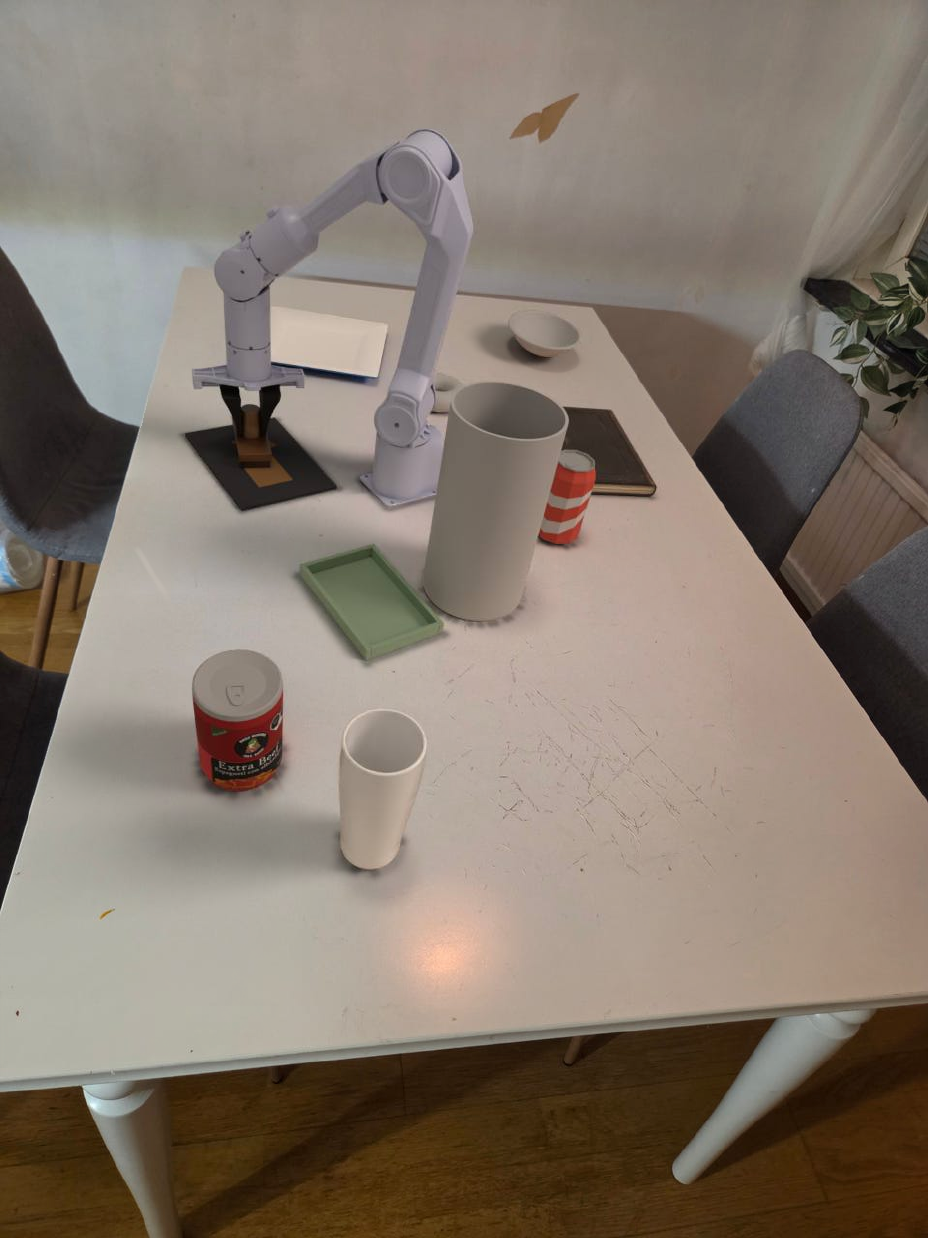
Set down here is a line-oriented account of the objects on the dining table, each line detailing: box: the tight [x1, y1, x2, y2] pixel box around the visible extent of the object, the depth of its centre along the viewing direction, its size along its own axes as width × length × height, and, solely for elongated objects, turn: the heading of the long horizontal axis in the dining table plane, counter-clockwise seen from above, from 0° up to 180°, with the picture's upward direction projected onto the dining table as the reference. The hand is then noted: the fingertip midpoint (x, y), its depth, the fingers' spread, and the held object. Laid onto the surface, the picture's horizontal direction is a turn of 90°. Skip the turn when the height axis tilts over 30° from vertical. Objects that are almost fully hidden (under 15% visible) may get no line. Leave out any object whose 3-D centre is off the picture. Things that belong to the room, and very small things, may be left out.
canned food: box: [191, 648, 284, 792], centre depth 72 cm, size 8×8×11 cm
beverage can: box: [538, 450, 596, 545], centre depth 108 cm, size 6×6×12 cm
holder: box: [299, 543, 445, 661], centre depth 94 cm, size 10×16×2 cm, turn 35°
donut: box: [431, 372, 464, 413], centre depth 134 cm, size 10×4×10 cm
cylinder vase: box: [422, 380, 569, 622], centre depth 92 cm, size 12×12×25 cm
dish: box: [507, 309, 583, 358], centre depth 155 cm, size 18×14×5 cm
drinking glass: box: [337, 708, 428, 870], centre depth 67 cm, size 7×7×15 cm
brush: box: [231, 403, 272, 468], centre depth 113 cm, size 11×4×6 cm, turn 17°
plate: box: [270, 305, 389, 380], centre depth 142 cm, size 22×22×2 cm
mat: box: [184, 417, 338, 512], centre depth 113 cm, size 14×20×1 cm
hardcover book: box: [561, 405, 658, 498], centre depth 129 cm, size 16×23×2 cm
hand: (250, 432), depth 113 cm, fingers closed on brush, 2 cm apart
